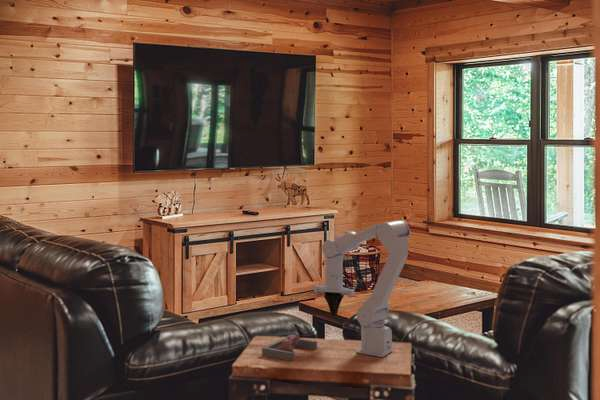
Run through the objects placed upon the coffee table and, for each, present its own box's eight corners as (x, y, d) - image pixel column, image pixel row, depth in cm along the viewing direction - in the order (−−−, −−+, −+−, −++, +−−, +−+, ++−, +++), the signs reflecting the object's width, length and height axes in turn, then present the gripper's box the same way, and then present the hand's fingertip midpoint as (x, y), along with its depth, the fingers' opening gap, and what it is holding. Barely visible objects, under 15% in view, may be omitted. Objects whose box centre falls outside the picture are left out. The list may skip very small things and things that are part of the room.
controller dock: (317, 348, 243) (317, 341, 243) (291, 361, 230) (291, 353, 230) (288, 343, 249) (288, 336, 249) (262, 355, 236) (262, 347, 236)
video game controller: (283, 361, 235) (292, 343, 233) (271, 353, 236) (280, 335, 235) (295, 353, 244) (304, 335, 242) (284, 345, 245) (292, 327, 244)
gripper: (309, 274, 249) (309, 314, 250) (347, 279, 241) (347, 320, 242) (319, 271, 255) (319, 310, 256) (357, 275, 247) (357, 315, 248)
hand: (334, 314), depth 250 cm, fingers closed
